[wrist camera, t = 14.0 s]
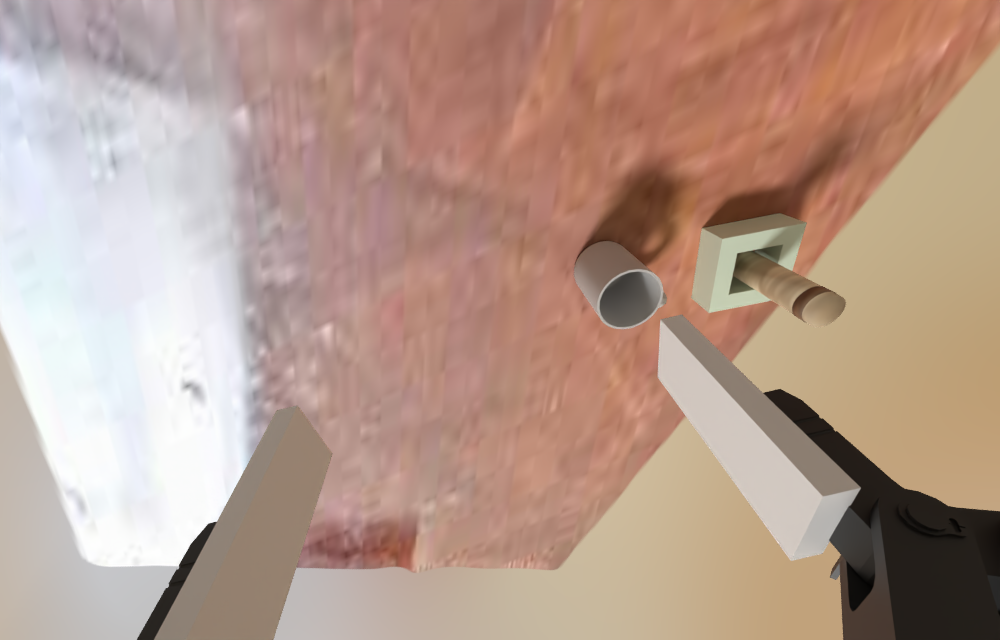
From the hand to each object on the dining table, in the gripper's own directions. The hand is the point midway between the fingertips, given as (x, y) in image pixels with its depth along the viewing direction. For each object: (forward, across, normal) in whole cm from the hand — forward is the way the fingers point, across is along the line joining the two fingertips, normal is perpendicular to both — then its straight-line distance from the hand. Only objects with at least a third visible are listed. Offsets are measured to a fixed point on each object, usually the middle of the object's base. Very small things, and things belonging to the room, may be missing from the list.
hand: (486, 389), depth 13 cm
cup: (+31, +16, -14) cm, 38 cm away
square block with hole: (+31, +32, -16) cm, 48 cm away
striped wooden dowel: (+31, +32, -16) cm, 48 cm away
